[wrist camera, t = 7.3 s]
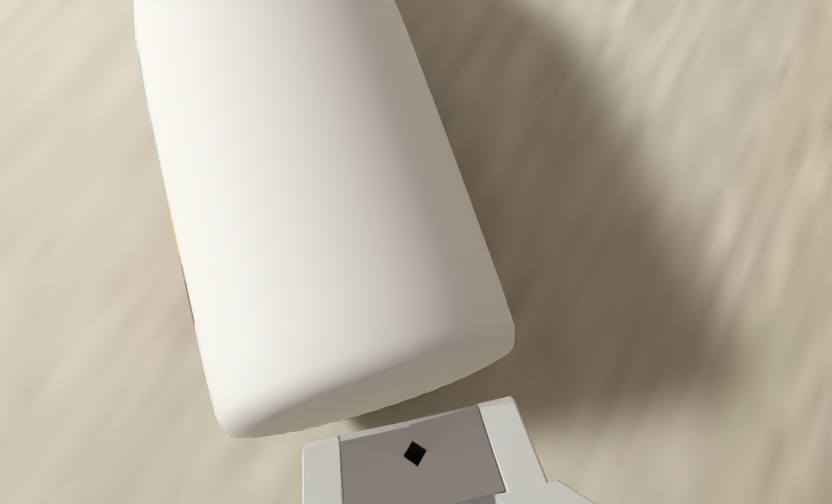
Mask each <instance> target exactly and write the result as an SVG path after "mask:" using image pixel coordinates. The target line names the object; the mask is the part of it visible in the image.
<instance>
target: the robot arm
mask: <svg viewBox="0 0 832 504" xmlns="http://www.w3.org/2000/svg"><path fill="white" fill-rule="evenodd" d="M302 504H595V503H593V502H592V501H590V500H589V499H587V498H586V497H584V496H583V495H581V494H579V493H578V492H576V491H575V490H573V489H572V488H570V487H569V486H567V485H566V484H564V483H563V482H561V481H560V480H557V481H552V482H548V480H547V478H546V475H545V473H544V471H543V468H542V466H541V463H540V461H539V458H538V456H537V453H536V451H535V448H534V446H533V444H532V441H531V439H530V436H529V434H528V431H527V429H526V426H525V424H524V422H523V419H522V417H521V414H520V412H519V409H518V407H517V404H516V402H515V400H514V399H513V398H512V397H511V396H507V397H503V398H499V399H495V400H491V401H487V402H483V403H479V404H477V406H476V405H472V406H468V407H464V408H459V409H455V410H451V411H447V412H443V413H438V414H434V415H430V416H426V417H422V418H417V419H413V420H409V421H406V422H401V423H396V424H391V425H386V426H381V427H376V428H372V429H367V430H362V431H357V432H352V433H347V434H342V435H340V436H337V437H332V438H327V439H322V440H317V441H312V442H307V443H305V444H304V448H303V451H302Z"/></svg>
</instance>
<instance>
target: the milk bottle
mask: <svg viewBox="0 0 832 504" xmlns="http://www.w3.org/2000/svg"><path fill="white" fill-rule="evenodd" d="M134 19H135V35H136V44H137V50H138V56H139V62H140V68H141V74H142V80H143V86H144V92H145V97H146V102H147V106H148V111H149V116H150V121H151V126H152V131H153V135H154V140H155V145H156V150H157V155H158V159H159V164H160V169H161V174H162V179H163V184H164V188H165V193H166V198H167V202H168V207H169V212H170V216H171V221H172V225H173V230H174V235H175V239H176V244H177V248H178V253H179V258H180V262H181V267H182V271H183V276H184V281H185V285H186V290H187V294H188V299H189V304H190V308H191V313H192V317H193V322H194V326H195V331H196V335H197V340H198V344H199V349H200V353H201V358H202V362H203V367H204V371H205V376H206V380H207V384H208V388H209V392H210V396H211V399H212V403H213V407H214V411H215V415H216V419H217V421H218V422H219V423H220V425H221V426H222V427H223V428H224V430H225V431H226V432H227V434H228V435H229V436H230V437H234V438H254V437H262V436H270V435H278V434H285V433H289V432H294V431H301V430H304V429H308V428H311V427H319V426H322V425H325V424H328V423H331V422H338V421H341V420H344V419H347V418H351V417H357V416H359V415H362V414H365V413H367V412H372V411H377V410H379V409H381V408H384V407H387V406H391V405H395V404H398V403H400V402H402V401H405V400H408V399H412V398H415V397H417V396H419V395H421V394H424V393H428V392H431V391H434V390H436V389H438V388H440V387H443V386H446V385H449V384H451V383H453V382H455V381H457V380H459V379H462V378H465V377H467V376H469V375H471V374H473V373H474V372H477V371H479V370H481V369H483V368H484V367H486V366H488V365H490V364H492V363H494V362H495V361H497V360H499V359H501V358H502V357H504V356H505V355H506V354H508V353H509V352H510V351H512V348H513V347H514V342H515V325H514V322H513V319H512V316H511V313H510V310H509V307H508V304H507V301H506V298H505V295H504V292H503V289H502V286H501V283H500V280H499V278H498V275H497V272H496V269H495V267H494V264H493V261H492V258H491V255H490V253H489V250H488V247H487V244H486V242H485V239H484V236H483V233H482V231H481V228H480V225H479V222H478V220H477V217H476V214H475V211H474V209H473V206H472V203H471V201H470V198H469V195H468V192H467V190H466V187H465V184H464V181H463V179H462V176H461V173H460V171H459V168H458V165H457V162H456V160H455V157H454V154H453V151H452V149H451V146H450V143H449V141H448V138H447V135H446V132H445V130H444V127H443V124H442V121H441V119H440V116H439V113H438V111H437V108H436V105H435V103H434V100H433V97H432V95H431V92H430V89H429V87H428V84H427V82H426V79H425V76H424V74H423V71H422V68H421V66H420V63H419V60H418V58H417V55H416V52H415V50H414V47H413V44H412V42H411V39H410V36H409V34H408V31H407V29H406V26H405V24H404V21H403V19H402V16H401V14H400V12H399V9H398V7H397V4H396V2H395V0H134Z"/></svg>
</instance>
